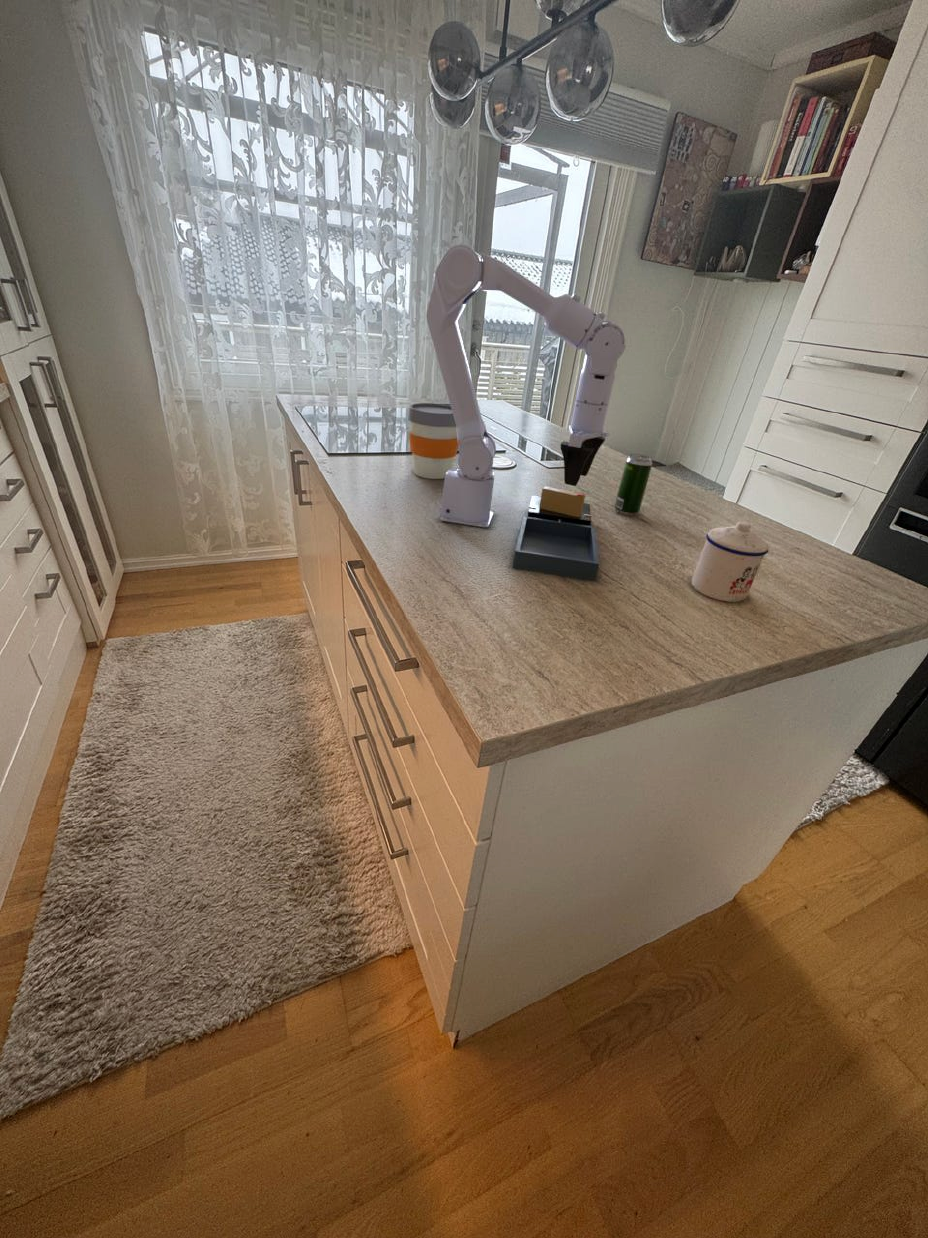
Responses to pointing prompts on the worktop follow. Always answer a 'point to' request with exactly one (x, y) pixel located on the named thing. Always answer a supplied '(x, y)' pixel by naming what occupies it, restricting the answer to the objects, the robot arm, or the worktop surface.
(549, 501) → the yellow-brown long block
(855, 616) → the worktop surface
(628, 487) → the beer can
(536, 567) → the tray
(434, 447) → the reusable coffee cup
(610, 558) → the worktop surface
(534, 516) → the black cupboard
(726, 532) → the teacup with lid
